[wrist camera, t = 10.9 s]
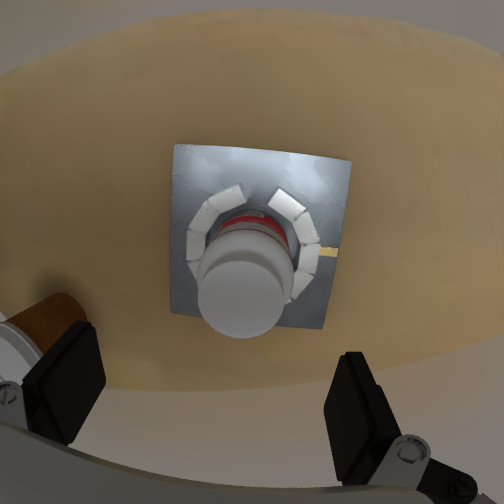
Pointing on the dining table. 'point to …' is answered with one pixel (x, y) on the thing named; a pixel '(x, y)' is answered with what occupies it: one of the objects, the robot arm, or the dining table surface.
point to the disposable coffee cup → (34, 334)
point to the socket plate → (265, 200)
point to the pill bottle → (245, 275)
